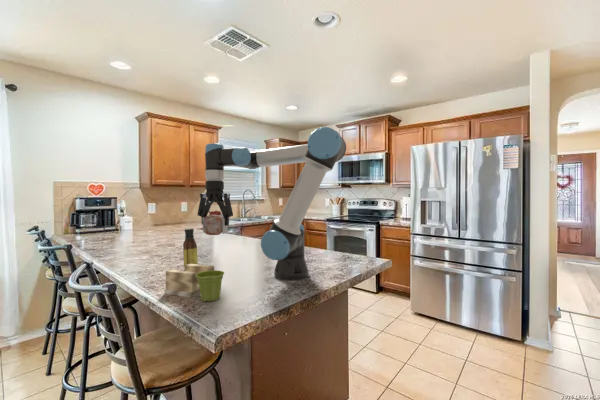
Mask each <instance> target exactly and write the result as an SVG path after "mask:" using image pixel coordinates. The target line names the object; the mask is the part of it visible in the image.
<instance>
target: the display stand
mask: <svg viewBox="0 0 600 400" xmlns="http://www.w3.org/2000/svg"><path fill="white" fill-rule="evenodd" d="M214 270H215V265H208V264H187V265H185V267H184V270H176V269H168V270H166V271H165V289H163V290H164V295H171V296H173V295H174V296H179V297H186V298H193V297H195V296H197V295H199V294H200V288H199V282H198V280H197V277H196V274H198V273H200V272H204V271H214Z"/></svg>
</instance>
